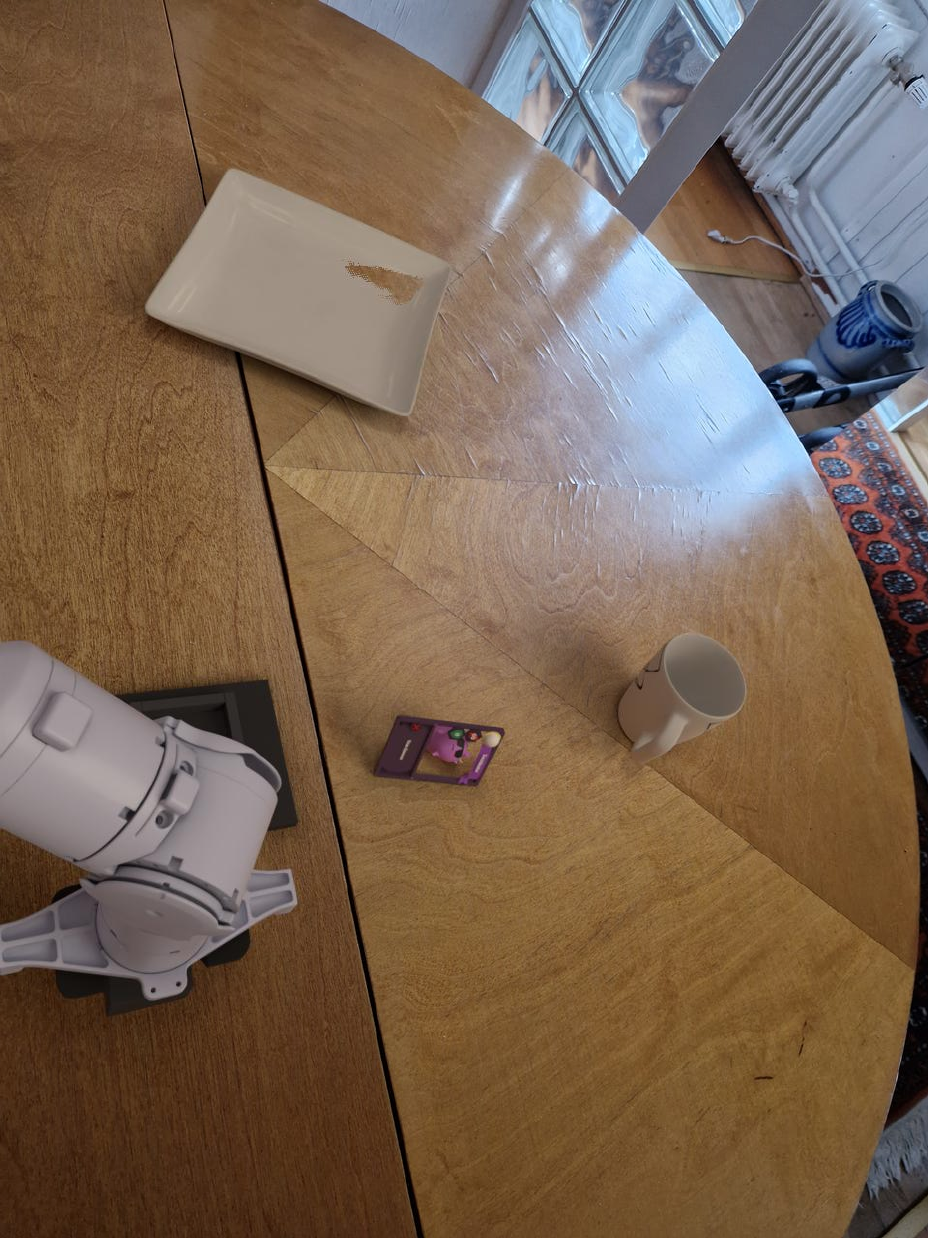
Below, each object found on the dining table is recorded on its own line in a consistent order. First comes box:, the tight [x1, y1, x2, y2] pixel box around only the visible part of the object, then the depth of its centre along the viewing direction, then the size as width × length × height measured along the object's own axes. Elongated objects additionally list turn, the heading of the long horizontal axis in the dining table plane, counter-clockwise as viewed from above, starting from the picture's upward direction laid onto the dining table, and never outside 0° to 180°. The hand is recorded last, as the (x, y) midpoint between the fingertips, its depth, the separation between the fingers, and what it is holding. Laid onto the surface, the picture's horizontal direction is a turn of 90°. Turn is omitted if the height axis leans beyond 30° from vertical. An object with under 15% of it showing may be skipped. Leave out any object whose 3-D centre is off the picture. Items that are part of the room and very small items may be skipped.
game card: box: [374, 714, 506, 787], centre depth 73 cm, size 7×5×9 cm
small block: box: [103, 964, 195, 1018], centre depth 52 cm, size 4×6×4 cm
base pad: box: [113, 679, 299, 832], centre depth 66 cm, size 14×12×2 cm
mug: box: [617, 631, 747, 765], centre depth 80 cm, size 11×8×10 cm
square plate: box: [144, 167, 453, 417], centre depth 95 cm, size 27×27×4 cm
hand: (141, 950), depth 53 cm, fingers closed on small block, 4 cm apart
